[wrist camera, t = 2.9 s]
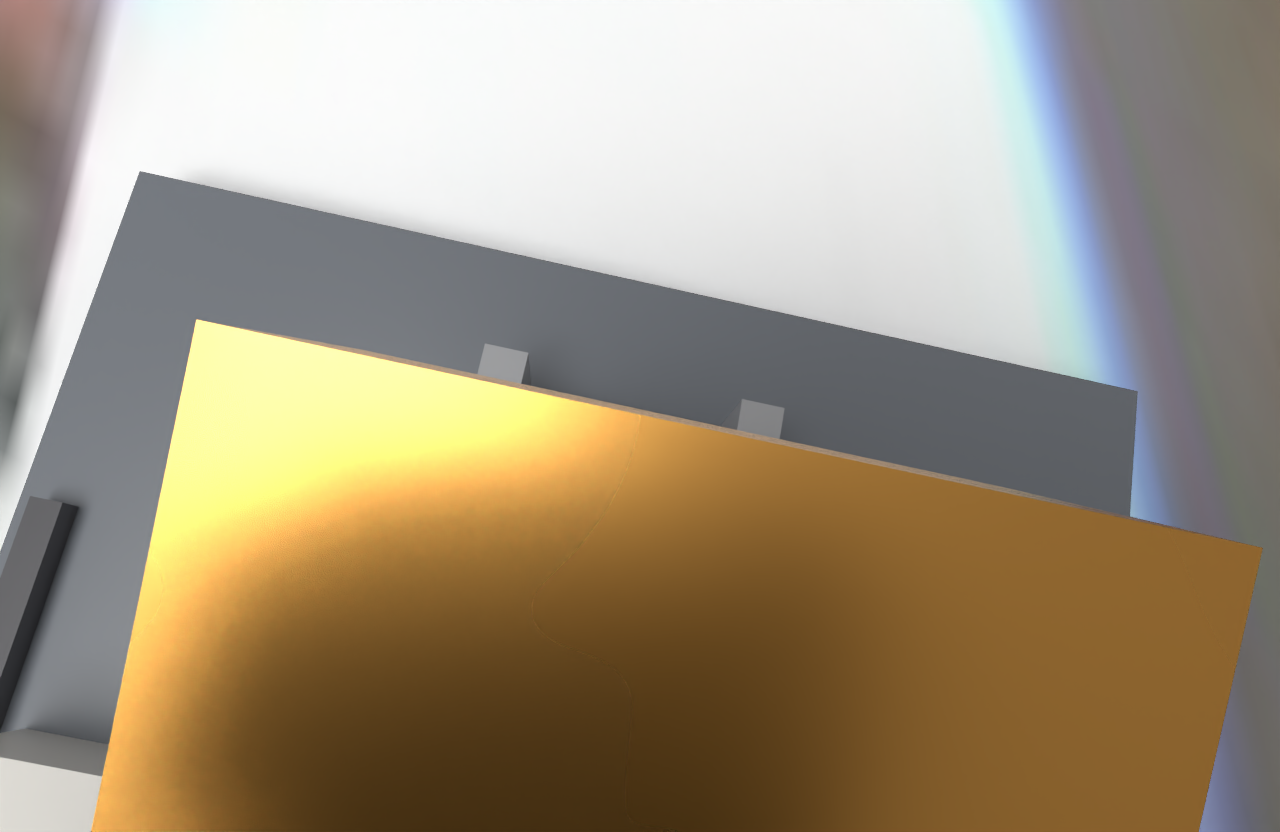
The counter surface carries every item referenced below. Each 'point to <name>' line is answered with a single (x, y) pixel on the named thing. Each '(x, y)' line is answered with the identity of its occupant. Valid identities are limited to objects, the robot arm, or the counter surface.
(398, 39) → the counter surface
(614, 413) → the lever
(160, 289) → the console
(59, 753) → the slider
